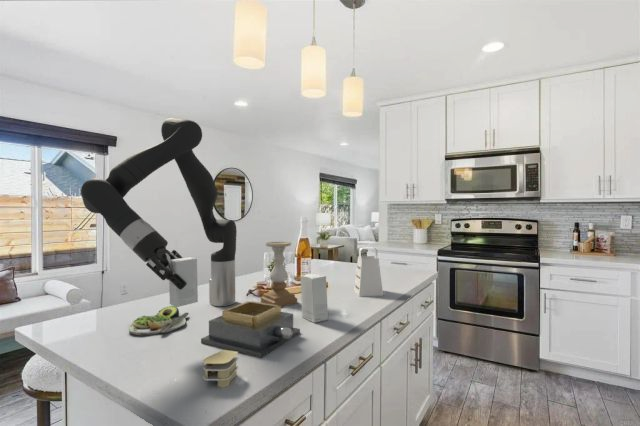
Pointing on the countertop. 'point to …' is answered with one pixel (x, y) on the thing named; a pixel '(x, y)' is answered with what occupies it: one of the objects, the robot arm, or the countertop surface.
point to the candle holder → (278, 278)
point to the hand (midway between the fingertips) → (189, 283)
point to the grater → (368, 275)
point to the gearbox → (251, 329)
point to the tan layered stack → (221, 367)
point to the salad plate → (159, 322)
